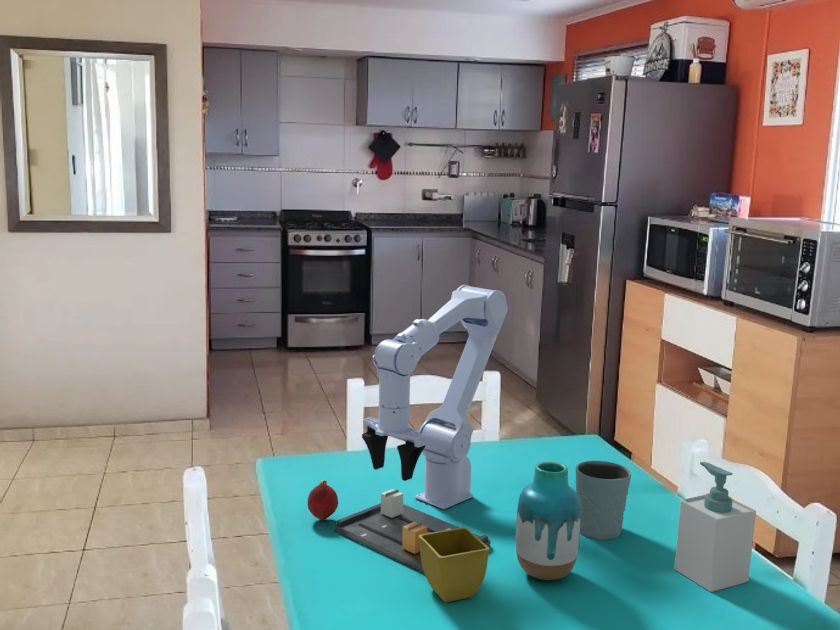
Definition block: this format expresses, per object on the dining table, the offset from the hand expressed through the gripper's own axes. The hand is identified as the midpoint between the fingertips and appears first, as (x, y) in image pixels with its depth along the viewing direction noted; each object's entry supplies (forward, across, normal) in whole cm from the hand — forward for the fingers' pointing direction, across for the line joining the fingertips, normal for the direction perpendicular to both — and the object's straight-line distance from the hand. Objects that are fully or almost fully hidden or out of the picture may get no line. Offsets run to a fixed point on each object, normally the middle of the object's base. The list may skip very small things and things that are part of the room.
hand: (392, 473), depth 164 cm
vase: (+10, +33, +4) cm, 35 cm away
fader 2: (+8, +13, -7) cm, 17 cm away
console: (+9, +8, -3) cm, 13 cm away
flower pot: (+10, +26, -12) cm, 30 cm away
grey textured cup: (+10, +30, +26) cm, 41 cm away
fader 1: (+8, 0, 0) cm, 8 cm away
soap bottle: (+10, +53, +24) cm, 59 cm away
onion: (+10, -9, -10) cm, 16 cm away
